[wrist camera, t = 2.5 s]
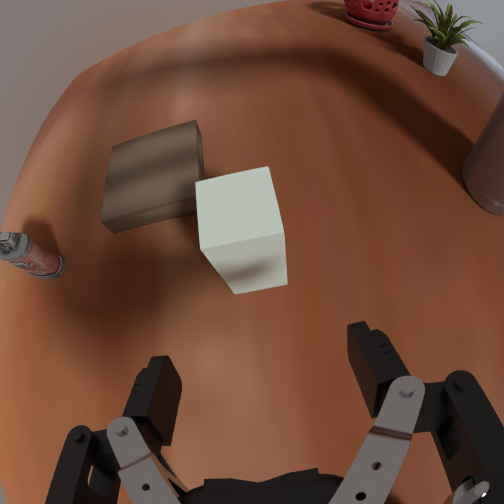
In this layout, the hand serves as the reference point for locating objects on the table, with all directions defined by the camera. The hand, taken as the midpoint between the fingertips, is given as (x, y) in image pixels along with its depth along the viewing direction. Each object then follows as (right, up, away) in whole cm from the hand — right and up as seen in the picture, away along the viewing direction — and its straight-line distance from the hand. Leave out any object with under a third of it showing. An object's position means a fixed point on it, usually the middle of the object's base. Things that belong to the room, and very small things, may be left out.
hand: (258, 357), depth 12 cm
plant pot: (+28, +59, +35) cm, 74 cm away
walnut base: (-12, +13, +22) cm, 28 cm away
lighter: (-28, +2, +20) cm, 35 cm away
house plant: (+37, +41, +26) cm, 61 cm away
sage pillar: (0, +3, +16) cm, 16 cm away
